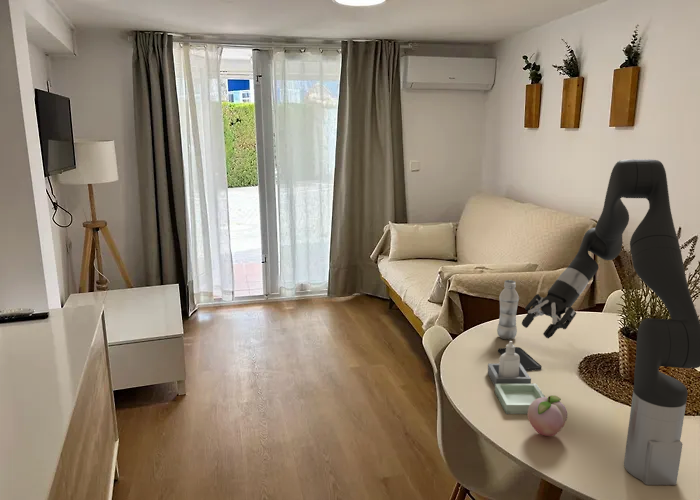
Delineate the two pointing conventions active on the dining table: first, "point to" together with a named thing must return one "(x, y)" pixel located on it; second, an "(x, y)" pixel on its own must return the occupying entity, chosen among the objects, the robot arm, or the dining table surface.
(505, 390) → the tray
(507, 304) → the plastic bottle
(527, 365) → the phone
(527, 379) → the grey square tray
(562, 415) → the decorative fruit
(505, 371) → the eye dropper bottle
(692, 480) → the dining table surface
